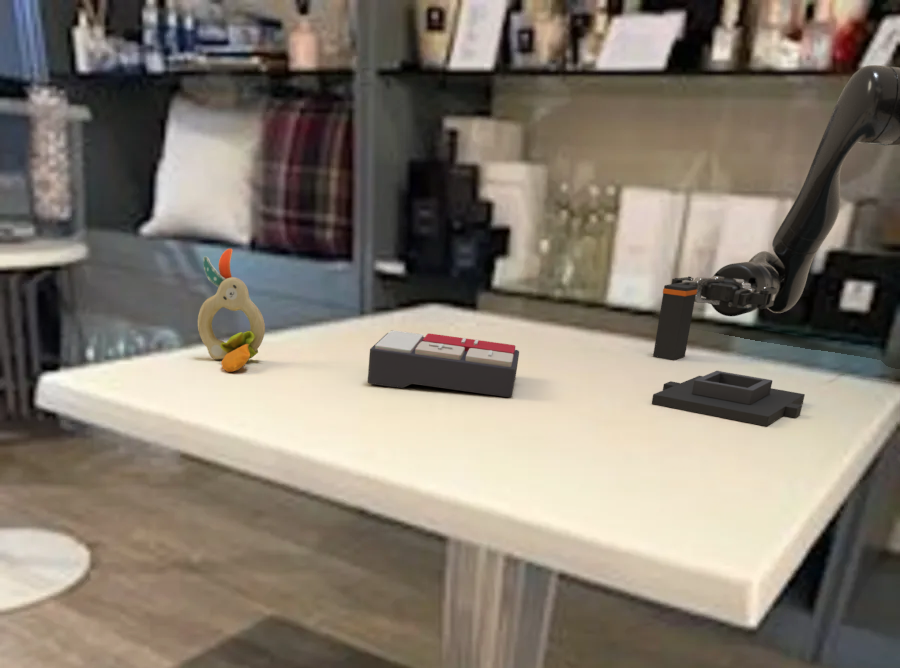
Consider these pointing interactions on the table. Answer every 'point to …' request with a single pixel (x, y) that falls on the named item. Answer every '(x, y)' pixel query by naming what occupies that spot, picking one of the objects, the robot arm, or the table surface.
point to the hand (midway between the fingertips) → (706, 295)
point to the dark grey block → (674, 321)
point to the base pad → (731, 398)
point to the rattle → (232, 298)
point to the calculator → (443, 363)
